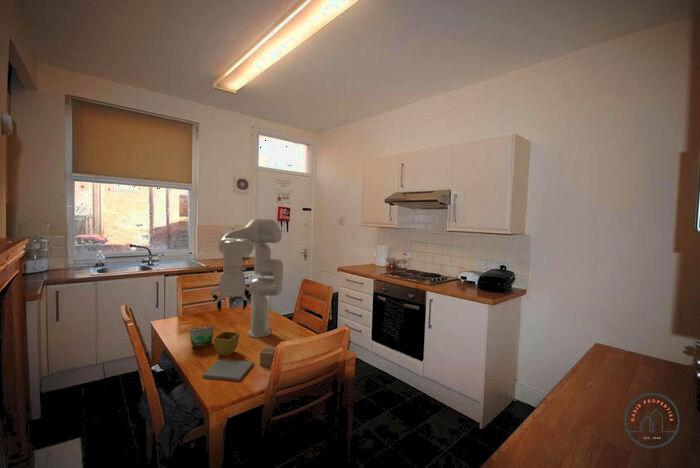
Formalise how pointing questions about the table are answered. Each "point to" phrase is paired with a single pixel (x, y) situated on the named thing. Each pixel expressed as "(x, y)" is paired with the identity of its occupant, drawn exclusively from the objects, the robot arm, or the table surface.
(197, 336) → the food container
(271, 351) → the walnut cube
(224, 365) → the slate board
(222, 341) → the flower pot
